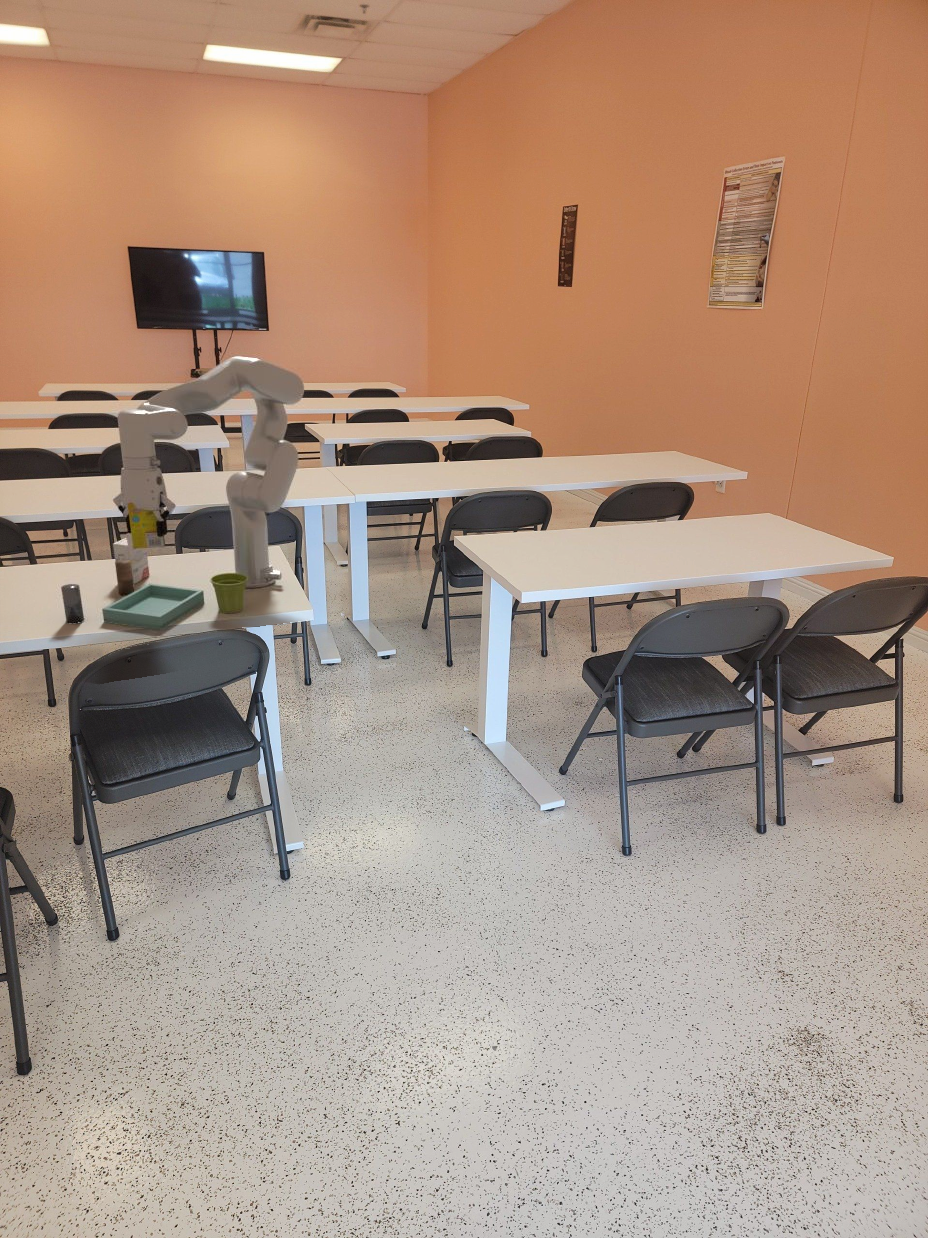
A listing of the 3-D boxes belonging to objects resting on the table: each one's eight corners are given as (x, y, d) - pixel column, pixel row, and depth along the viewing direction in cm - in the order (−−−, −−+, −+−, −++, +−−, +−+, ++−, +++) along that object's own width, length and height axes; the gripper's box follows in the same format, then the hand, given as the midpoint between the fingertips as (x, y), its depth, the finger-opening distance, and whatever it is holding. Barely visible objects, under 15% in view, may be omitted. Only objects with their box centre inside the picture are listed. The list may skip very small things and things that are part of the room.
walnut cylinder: (137, 591, 219) (134, 560, 215) (128, 596, 215) (125, 564, 212) (124, 590, 219) (121, 558, 216) (115, 594, 216) (111, 563, 212)
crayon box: (165, 544, 201) (160, 499, 197) (164, 547, 199) (159, 502, 194) (133, 545, 199) (128, 499, 195) (132, 549, 197) (127, 502, 192)
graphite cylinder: (87, 618, 200) (82, 585, 196) (77, 624, 196) (71, 590, 193) (73, 616, 200) (68, 583, 197) (62, 622, 197) (57, 588, 193)
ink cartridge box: (134, 573, 232) (128, 524, 227) (150, 575, 231) (144, 526, 226) (117, 583, 224) (110, 532, 219) (133, 585, 223) (127, 534, 218)
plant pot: (233, 600, 216) (231, 570, 212) (257, 609, 211) (255, 578, 208) (205, 610, 209) (202, 578, 205) (228, 619, 204) (226, 587, 200)
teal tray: (204, 602, 213) (203, 590, 212) (161, 630, 195) (160, 616, 194) (150, 595, 216) (149, 583, 215) (103, 622, 198) (102, 608, 197)
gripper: (180, 463, 193) (187, 533, 200) (117, 457, 196) (125, 526, 203) (163, 468, 186) (170, 541, 193) (97, 462, 190) (107, 534, 196)
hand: (147, 533), depth 198 cm, fingers closed on crayon box, 7 cm apart
